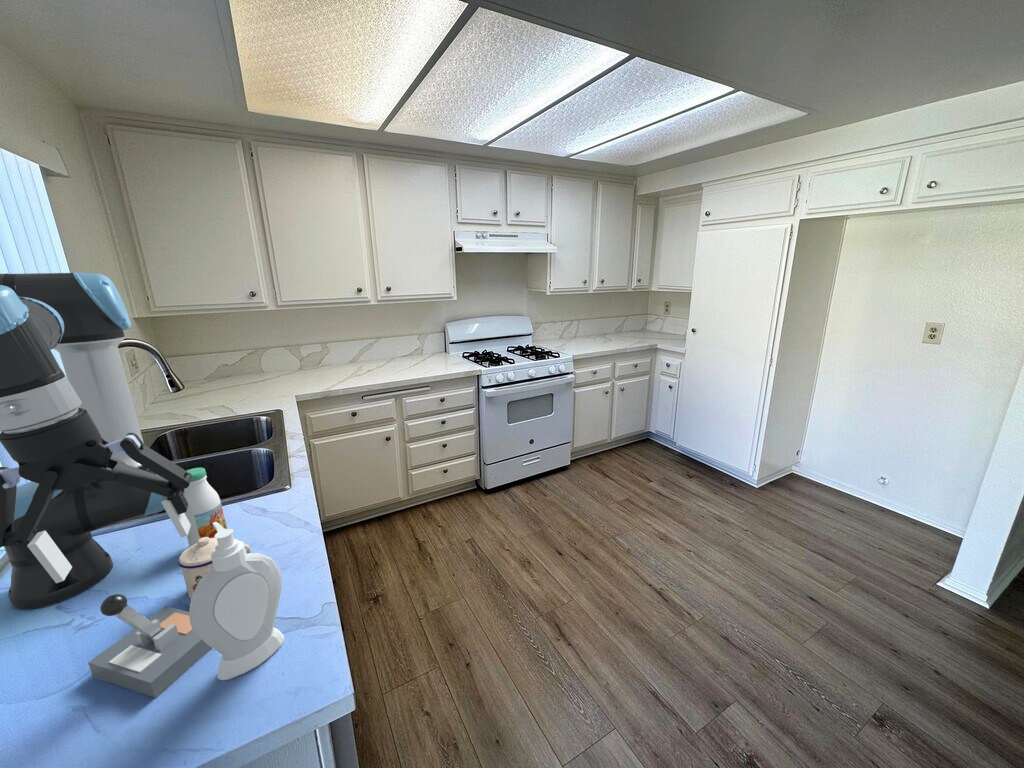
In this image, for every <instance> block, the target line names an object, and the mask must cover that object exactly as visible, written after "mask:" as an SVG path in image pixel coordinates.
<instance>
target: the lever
mask: <svg viewBox="0 0 1024 768" xmlns="http://www.w3.org/2000/svg"><path fill="white" fill-rule="evenodd" d="M100 613H101V614H102V615H104V616H106V617H113V616H115V617H116V618H118V619H119V620H121V621H122V622H124V624H127V625H128V626H130V627H131V628H133V630H134V629H136V630H137V631H138V632H140V633H141V634H143V635H144V636H146V637H147V640H149V641H153V638H154V637H155V636H156V635H158V634H159V633H160V632H162V631H163V630H162V629H161V628H159V627H158V626H157V625H155V624H154V623H152V622H151V621H150V620H148V619H149V618H147V617H145V616H144V615H143V614H142V613H140V612H139V611H137V610H136V609H134V608H133V607H132V606H130V605H129V604H128V599H127V597H126V596H125V595H124V594H121V593H117V594H116V593H115V594H112V595H110V596H108V597H106V598H105V599H104V600H103V601H102V603H101V604H100ZM153 642H154V641H153Z"/></svg>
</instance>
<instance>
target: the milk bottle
mask: <svg viewBox="0 0 1024 768" xmlns="http://www.w3.org/2000/svg"><path fill="white" fill-rule="evenodd" d="M186 471H187V472H189V473H190V474H191V475H192V479H191V482H190V484H189V486H188V487H187V488H185V489H183V492H182V493H183V495H184V497H185V498H186V501H187V502H188V508H187V511H186V512H185V515H186V517H187V519H188V521H189V522H190V524H191V526H190V529H189V533H188V536H186V539H187V542H188V548H189V547H190V546H192V545H194V544H196V543H197V542H198V540H199V539H201V538H203V537H208V538H209V539H210V538H215V534H216V533H217V530H216V528H215V527H214V526H213V523H214V522H217V523H219V524H220V525H221V526H222V527H223V528H224V529H228V526H227V522H226V521H227V520H226V518H225V513H224V509H223V506H222V501H221V498H220V495H219V494H218V492H217V491H216V490H215V489H214V487H212V486H211V484H209V482H208V481H207V478H208V476H207V472H206V469H205V468H204V467H194V468H191V469H186Z"/></svg>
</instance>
